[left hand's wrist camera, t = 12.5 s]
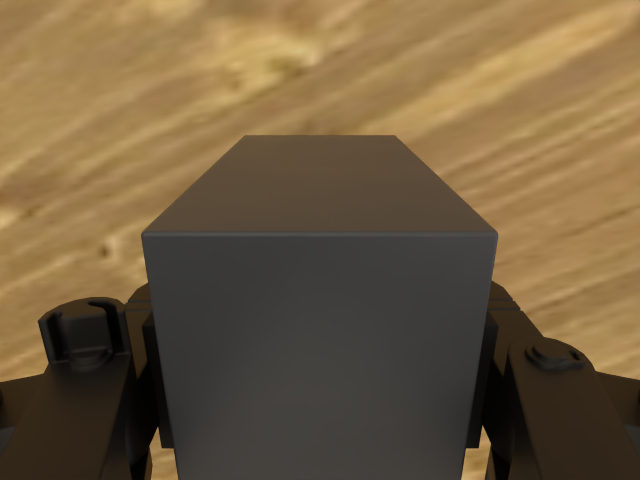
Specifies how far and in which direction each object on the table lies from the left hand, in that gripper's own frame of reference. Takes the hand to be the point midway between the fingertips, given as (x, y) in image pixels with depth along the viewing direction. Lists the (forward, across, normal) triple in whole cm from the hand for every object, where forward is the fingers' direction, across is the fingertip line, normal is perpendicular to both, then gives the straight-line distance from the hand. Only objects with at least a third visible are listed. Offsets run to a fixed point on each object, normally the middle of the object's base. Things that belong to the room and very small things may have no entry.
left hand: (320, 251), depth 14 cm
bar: (+1, 0, -10) cm, 10 cm away
